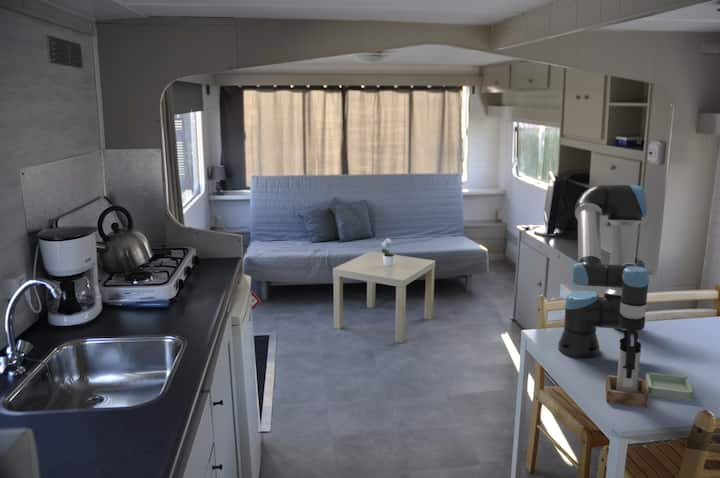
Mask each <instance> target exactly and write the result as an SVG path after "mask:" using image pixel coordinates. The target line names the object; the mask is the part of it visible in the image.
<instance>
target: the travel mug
mask: <svg viewBox="0 0 720 478" xmlns="http://www.w3.org/2000/svg"><path fill="white" fill-rule="evenodd" d="M641 349H642V343H641V342H640V341H638V340H637V347H636V355H635V369H634V373H633V385H632V387H626V386H623V379H624V368H623V366H625V363H626V346H625V340H624V337H622V338H620V339H619V351H618V353H619V354H618V367H617V375H616V376H617V388H615V389H616V390H615V391H622V392H630V393H638V391H637V387H638V379H639V373H640V363H641V352H642V350H641Z"/></svg>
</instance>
